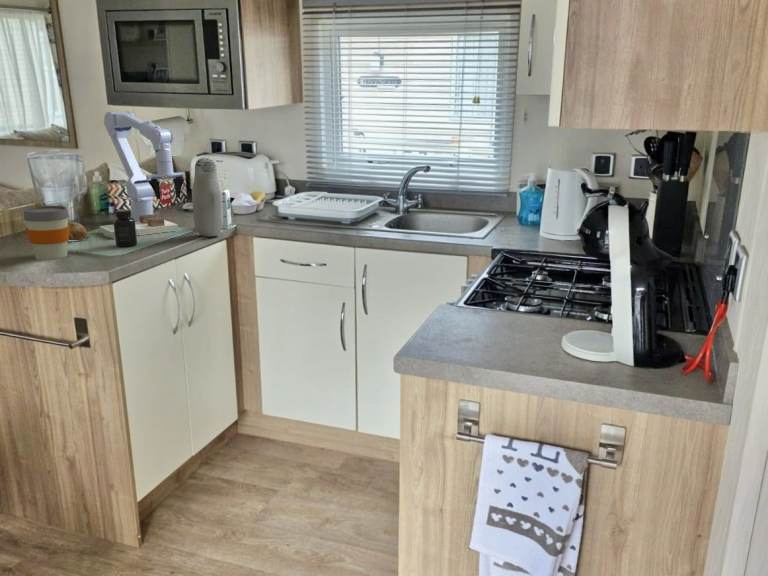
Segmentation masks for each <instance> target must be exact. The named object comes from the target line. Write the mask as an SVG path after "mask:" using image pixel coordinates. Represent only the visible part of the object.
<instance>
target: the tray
mask: <svg viewBox="0 0 768 576" xmlns="http://www.w3.org/2000/svg"><path fill="white" fill-rule="evenodd" d="M98 231H99V232H101V233H103V234H105V235H107V236H109V237H111V238H115V232H114V224H108V225H107V224H106V225H100V226H99V225H98ZM99 232H98V233H99ZM101 233H100V234H101ZM103 234H102V235H103ZM105 235H104V236H105ZM107 236H106V237H107ZM136 236H137V237H139V236H138V229H136ZM109 237H108V238H109ZM111 238H110V239H111Z"/></svg>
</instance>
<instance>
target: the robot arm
mask: <svg viewBox="0 0 768 576" xmlns="http://www.w3.org/2000/svg"><path fill="white" fill-rule="evenodd" d="M103 124H104V126H105V129H106V131H107V133H108V136H110V139H111V142H112V144H113V146H114V148H115V150H116V153H117V155H118V157H119V160H120V162H121V164H122V166H123V168H124V170H125V173H126V176H127V178H128V179H127V181H126V182H125V185H124V186H125V189H126V194H127V196H128V198H129V199H130V201H131V203H130V210H131V217H132V218H133V219H134V220H135V222H140V218H139V216H141V215H154V209H153V208H154V207H153V200H154V199H155V197H156V199H157V200H161V198H162V197H161V187H160V185H161V182H160V181H159V180H168V179H172V181H173V186H174V193H175V197H176V198H180V197H181V191H182V188H183V184H184V181H185V178H186V172H184V171H178V172H174V166H173V157H172V146H171V144H172V143H173V140H174V135H173V133H172V131H171V130H170V129H169V127H168V128H161V126H160V125H156V124H154V123H153V121H152V120H146V121H143V120H142V119H140V118H138V117H137V116H135V114H134V113H132V112H131V111H107V112H105V114H104V117H103ZM132 129H136V130H137V131H138V132H139V134H140V135H141V136H143V137H145V138H146V139H148V140H150V142H151V144H152V148H153V150H154V155H155V161H156V170H157V173H156V174H155V173H154V174H143V173H142V170H141V168H140V166H139V163H138V161H137V158H136V157H135V154H134V153H133V150H132V147H131V145H130V143H129V142H128V139H127V137H128V136H130V135H131V131H132Z"/></svg>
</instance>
